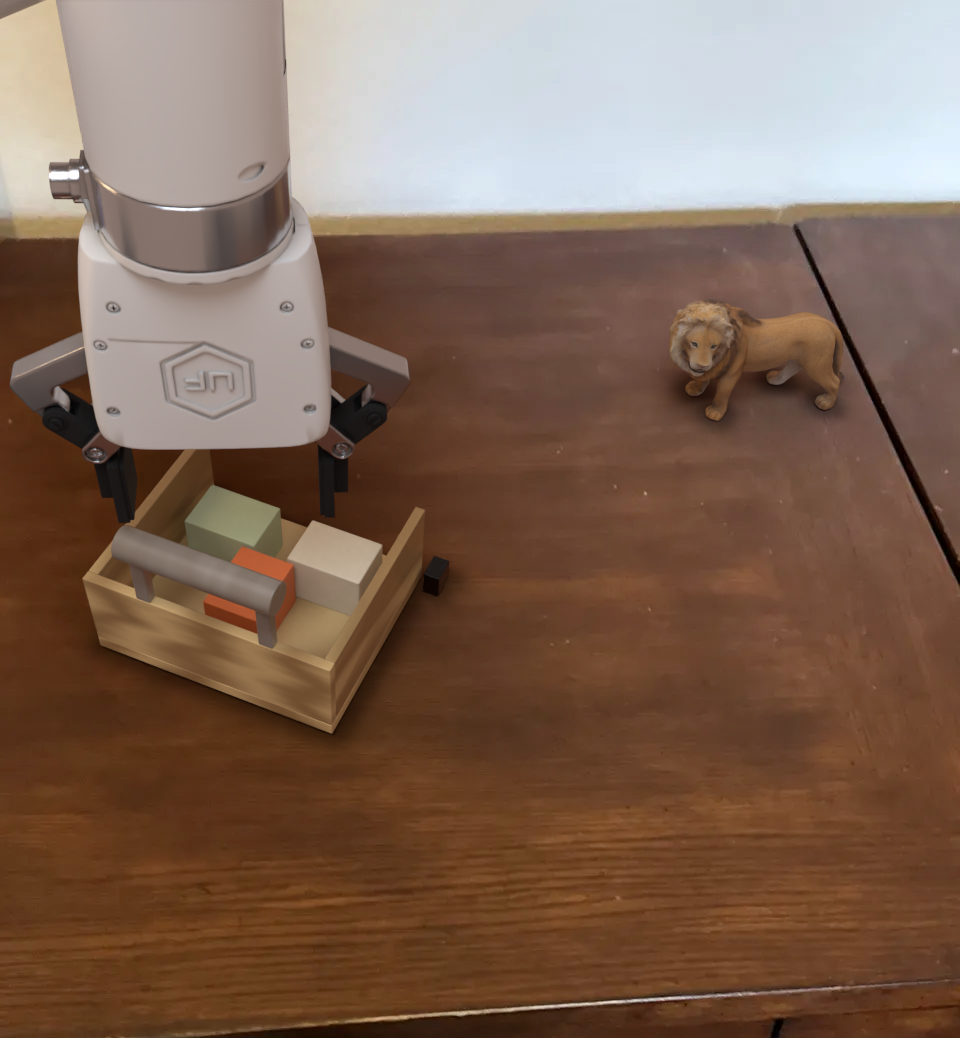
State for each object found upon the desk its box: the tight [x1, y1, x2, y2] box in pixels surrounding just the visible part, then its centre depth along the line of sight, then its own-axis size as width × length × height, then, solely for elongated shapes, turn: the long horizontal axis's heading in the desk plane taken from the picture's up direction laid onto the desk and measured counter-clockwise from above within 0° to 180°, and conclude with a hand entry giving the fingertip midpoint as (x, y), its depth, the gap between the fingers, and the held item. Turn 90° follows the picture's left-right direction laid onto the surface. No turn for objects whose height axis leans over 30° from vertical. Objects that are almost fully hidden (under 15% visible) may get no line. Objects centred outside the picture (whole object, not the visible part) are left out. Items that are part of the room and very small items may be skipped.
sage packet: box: [185, 484, 283, 562], centre depth 72 cm, size 4×3×3 cm
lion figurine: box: [668, 298, 845, 422], centre depth 83 cm, size 15×5×9 cm, turn 110°
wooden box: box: [82, 449, 426, 734], centre depth 68 cm, size 14×13×11 cm
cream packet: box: [287, 520, 383, 616], centre depth 71 cm, size 4×3×3 cm
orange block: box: [203, 546, 296, 634], centre depth 69 cm, size 4×3×3 cm
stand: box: [422, 555, 450, 597], centre depth 75 cm, size 17×2×2 cm, turn 68°
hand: (228, 499), depth 62 cm, fingers open, 9 cm apart
